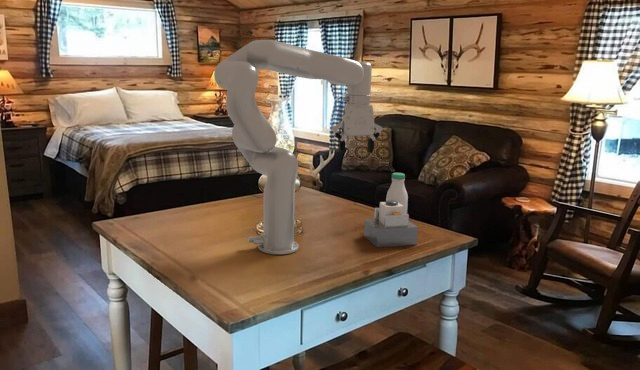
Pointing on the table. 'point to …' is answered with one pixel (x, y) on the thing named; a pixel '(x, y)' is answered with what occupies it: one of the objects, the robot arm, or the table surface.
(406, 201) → the milk bottle
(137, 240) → the table surface
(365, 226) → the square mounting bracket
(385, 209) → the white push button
